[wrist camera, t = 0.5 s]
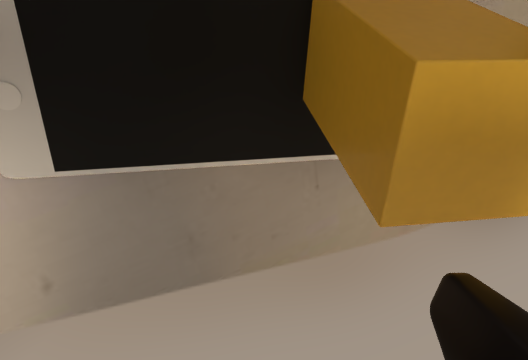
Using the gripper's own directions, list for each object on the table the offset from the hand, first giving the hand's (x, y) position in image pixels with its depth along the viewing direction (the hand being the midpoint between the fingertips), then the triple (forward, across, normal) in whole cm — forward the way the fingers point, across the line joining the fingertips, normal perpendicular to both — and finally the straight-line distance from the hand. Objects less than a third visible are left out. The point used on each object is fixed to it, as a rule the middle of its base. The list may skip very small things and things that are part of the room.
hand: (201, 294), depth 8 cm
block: (+12, -7, -1) cm, 14 cm away
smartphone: (+13, -1, +1) cm, 13 cm away
